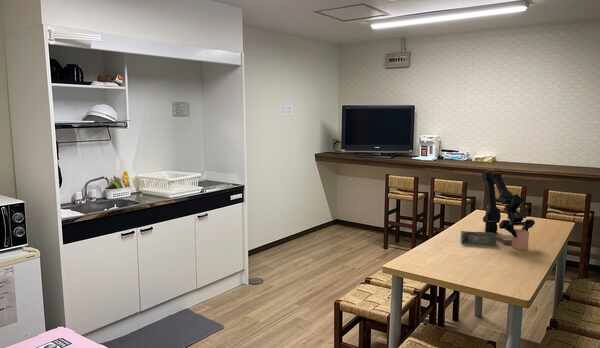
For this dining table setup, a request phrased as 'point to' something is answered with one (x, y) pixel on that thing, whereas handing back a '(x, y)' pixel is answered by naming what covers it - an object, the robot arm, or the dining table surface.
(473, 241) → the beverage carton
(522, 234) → the reddish brown block
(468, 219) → the dining table surface
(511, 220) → the robot arm
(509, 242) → the walnut block
